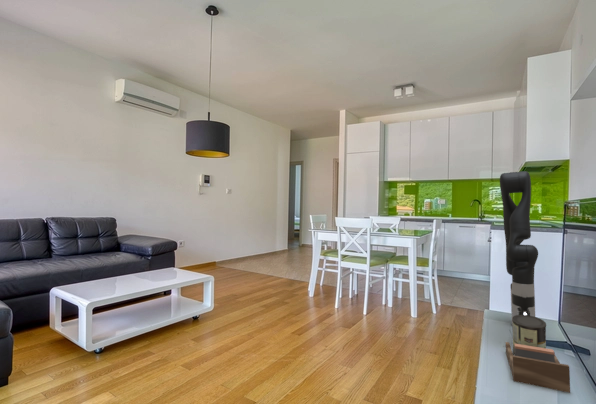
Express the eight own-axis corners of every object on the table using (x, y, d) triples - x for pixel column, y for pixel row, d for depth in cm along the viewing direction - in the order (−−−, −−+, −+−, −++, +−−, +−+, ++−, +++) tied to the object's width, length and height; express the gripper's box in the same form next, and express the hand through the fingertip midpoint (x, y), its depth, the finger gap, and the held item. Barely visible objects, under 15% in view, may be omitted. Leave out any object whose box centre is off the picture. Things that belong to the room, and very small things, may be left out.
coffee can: (536, 349, 121) (536, 314, 120) (552, 365, 111) (552, 327, 110) (507, 347, 123) (507, 314, 122) (520, 363, 113) (520, 327, 112)
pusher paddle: (514, 365, 112) (514, 343, 112) (553, 372, 107) (552, 349, 107) (515, 368, 110) (515, 346, 110) (555, 375, 104) (554, 352, 105)
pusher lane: (505, 352, 122) (505, 331, 122) (552, 359, 115) (551, 338, 115) (513, 381, 102) (513, 356, 102) (570, 392, 95) (569, 366, 95)
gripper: (509, 288, 134) (510, 328, 134) (514, 296, 122) (515, 340, 122) (531, 290, 130) (532, 331, 130) (537, 299, 118) (539, 344, 118)
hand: (524, 335), depth 126 cm, fingers closed
